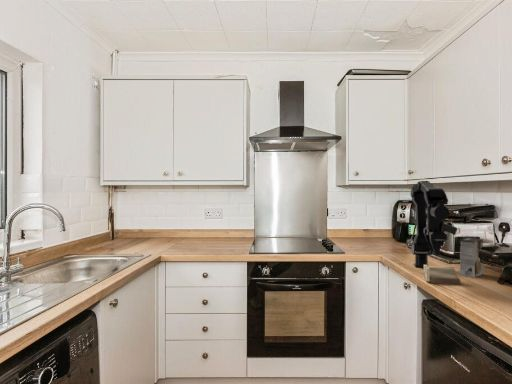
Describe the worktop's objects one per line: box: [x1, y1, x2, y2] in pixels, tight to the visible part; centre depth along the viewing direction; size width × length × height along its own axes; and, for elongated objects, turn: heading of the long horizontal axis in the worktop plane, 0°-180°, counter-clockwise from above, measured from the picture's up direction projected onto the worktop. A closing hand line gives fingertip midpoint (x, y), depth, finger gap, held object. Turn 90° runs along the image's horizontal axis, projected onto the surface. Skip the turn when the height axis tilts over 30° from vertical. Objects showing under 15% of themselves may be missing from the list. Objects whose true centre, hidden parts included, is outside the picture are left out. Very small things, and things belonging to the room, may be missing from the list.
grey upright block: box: [459, 237, 484, 279], centre depth 155 cm, size 9×6×16 cm
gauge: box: [423, 265, 456, 283], centre depth 145 cm, size 7×11×6 cm, turn 72°
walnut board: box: [429, 274, 461, 286], centre depth 149 cm, size 16×11×2 cm
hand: (434, 252), depth 149 cm, fingers open, 9 cm apart
